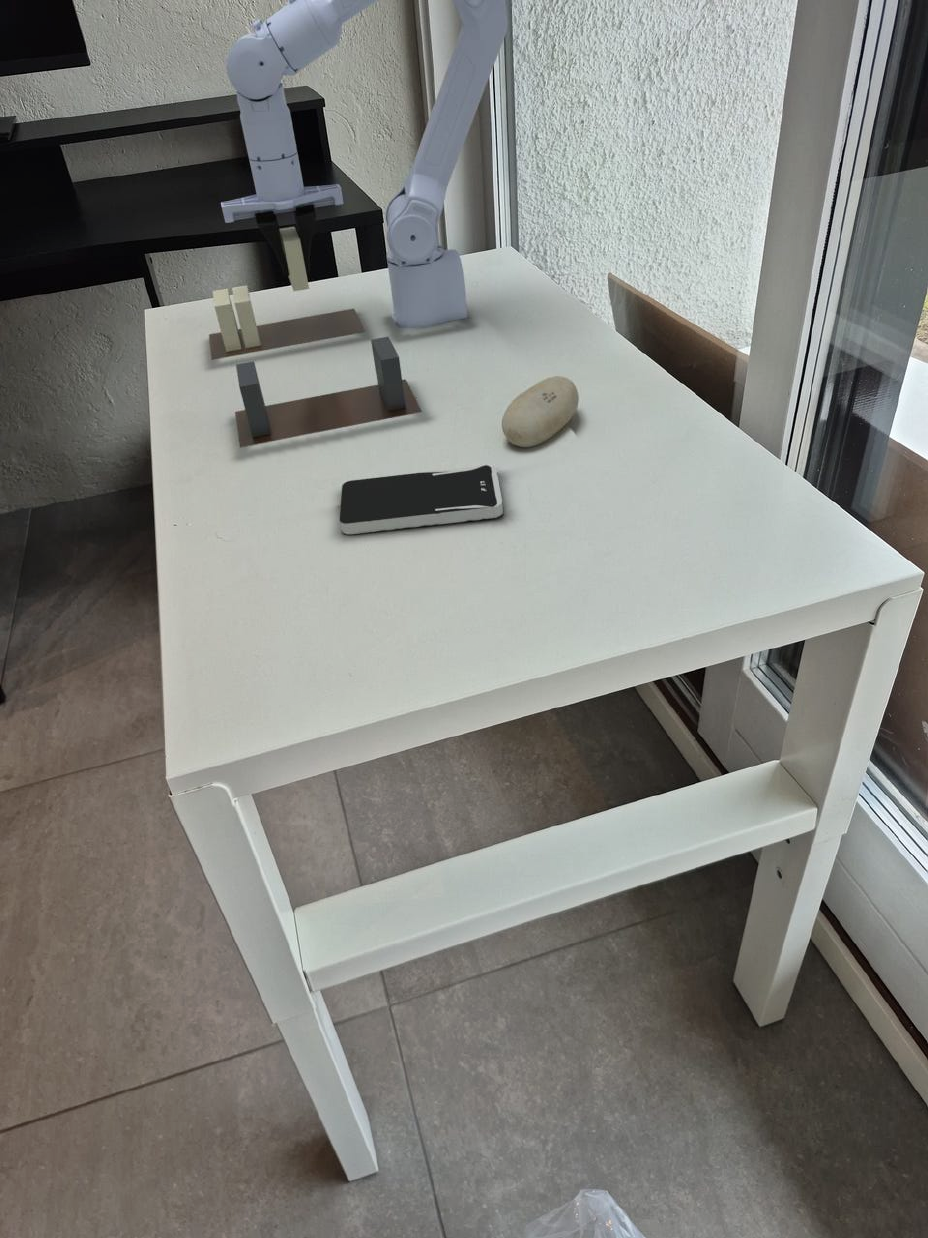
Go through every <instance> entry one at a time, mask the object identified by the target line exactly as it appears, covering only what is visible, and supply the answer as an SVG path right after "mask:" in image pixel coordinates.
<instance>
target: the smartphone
mask: <svg viewBox="0 0 928 1238" xmlns="http://www.w3.org/2000/svg"><path fill="white" fill-rule="evenodd" d="M340 495H341V497H340V509H339V523H340V528H341V532H342V534H344V535H348V536H349V535H351V536H352V535H358V534H367V533H368V534H369V533H377V532H385V531H394V530H403V529H412V528H419V527H427V526H428V527H429V526H437V525H446V524H455V523H464V522H471V521H472V522H473V521H480V520H482V521H483V520H489V519H490V520H491V519H497V518H499V517H501V516H502V515H503V513H504V508H503V499H502V493H501V486H500V482H499V476H498V470H497V467H496V466H495V465H492V464H481V465H473V466H466V467H456V468H447V469H440V470H430V471H421V472H414V473H413V472H411V473H404V474H397V475H387V476H380V477H379V476H377V477H371V478H370V477H369V478H360V479H354V480H353V479H352V480H348V481H346V482H344V483H343V484H342V485H341V494H340Z"/></svg>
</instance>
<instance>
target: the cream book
mask: <svg viewBox="0 0 928 1238" xmlns="http://www.w3.org/2000/svg"><path fill="white" fill-rule="evenodd" d="M279 230H280V235H281V241H282V246H283V251H284V254H285V258H286V261H287V265H288V269H289V275H290V276H288V279H289V282H290V285H291V288H292V291H293V292H298V291H299V292H300V291H304V290H310V285H309V281H308V275H307V273H306V269H305V264H304V259H303V253H302V248H301V243H300V239H299V237H298V233H297V228H296V226H289V227H283V228H279Z"/></svg>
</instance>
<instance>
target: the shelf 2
mask: <svg viewBox="0 0 928 1238" xmlns="http://www.w3.org/2000/svg"><path fill="white" fill-rule="evenodd" d="M402 382H403V389H404V396H405V404H406V408H404V409H399V410H394V411H388V409H387V407H386V404H385V402H384V400H383V398H382V395H381V393H380V391H379V388H378V384H374V385H368V386H363V387H357V388H352V389H347V390H342V391H337V392H332V393H326V394H321V395H316V396H310V397H306V398H300V399H295V400H289V401H285V402H279V403H274V404H269V405H265V408H266V412H267V417H268V422H269V427H270V432H271V435H266V436H261V437H256V438H252V434H251V430H250V426H249V422H248V419H247V415H246V411H245V409H242V410H238V411H234V415H235V423H236V431H237V438H238V444H239V449H240V448H241V449H242V448H247V447H251V446H256V445H261V444H267V443H272V442H277V441H282V440H286V439H292V438H297V437H303V436H307V435H312V434H318V433H323V432H328V431H332V430H337V429H342V428H348V427H352V426H358V425H364V424H367V423H373V422H377V421H383V420H389V419H394V418H399V417H403V416H409V415H413V414H418V413H423V411H422V408H421V407H420V404H419V402H418V401H417V399H416V397H415V395H414V393H413V391H412V389H411V387H410V385H409V383H408V381H407V379H405V378H404V379H402Z"/></svg>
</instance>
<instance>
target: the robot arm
mask: <svg viewBox="0 0 928 1238" xmlns="http://www.w3.org/2000/svg"><path fill="white" fill-rule="evenodd" d="M288 1H289V3H288V4H286V5H285V6H284V7H282V8H281V9H279V10H278V11H277V12H275V13H274V14H273V15H272V16H270V17H268V18H267V19H266V20H264V21H262V18H259V19H257V20H256V21H255V22H253V23H252V28H253V29H254V32H255V33H253V32H251V33H250V32H249V33H247V34H245V35H242V36H241V37H240V38H239V39H237V41H236V42H235V43H234V45H233V46H232V47H231V48H230V49H229V51H228V55H227V58H226V74H227V77H228V80H229V82H230V83H231V85H232V87H233V88H234V90H235V91H236V102H237V105H238V107H239V111H240V114H239V119H240V124H241V128H242V134H243V138H244V142H245V147H246V152H247V155H248V161H249V165H250V169H251V174H252V179H253V184H254V189H255V193H256V194H253V195H248V196H244V197H241V198H236V199H232V200H229V201H222V202H220V206H221V210H222V211H221V212H222V214H223V218H224V222H225V224H228V223H234V222H235V221H239V220H245V219H250V218H251V219H252V218H254V219H255V223H256V225H257V227H258V229H259V230H260V232H261V233H262V235H263V236H264V237H265V239H266V240H267V242H268V243H269V245H270V246H271V248H272V250H273V252H274V253H275V255H276V258H277V259H278V262H279V264H280V267H281V269H282V273H283V276H284V277H289V276H290V275H289V269H288V265H287V261H286V258H285V254H284V251H283V246H282V241H281V235H280V230H279V229H280V225H279V222H278V219H277V216H276V214H281V213H282V214H283V213H289V212H292V214H293V218H294V222H295V229H296V232H297V234H298V237H299V239H300V243H301V248H302V253H303V259H304V264H305V269H306V274H307V273H311V247H312V240H313V234H314V231H315V227H316V224H317V218H318V217H317V212H316V209H315V208H319V207H325V206H332V205H334V206H341V205H344V197H343V191H342V187H341V185H340V184H339V183H335V184H328V185H327V184H326V185H316V186H315V185H313V186H304V182H303V176H302V170H301V165H300V160H299V154H298V149H297V144H296V139H295V133H294V127H293V120H292V117H291V111H290V108H289V106H288V105H287V99H286V93H285V89H284V83H282V79H283V77H284V76H295V75H297V74H298V73H300V72H301V71H302V70H303V69H305V68H307V67H308V66H309V65H311V64H312V63H314V62H315V61H316V60H318V59H319V58H321V57H322V56H323V55H325V54H326V53H328V52H329V51H330V50H332V49H333V48H336V46H338V45H339V44H340V42H341V36H342V30H343V25H344V23H346V22H348V21H349V20H350V19H352V18H354V17H355V16H357V15H358V14H360V13H361V12H363V11H364V10H366V9H367V8H368V7H370V6H372V5H374V4H375V3H376V2H378V1H379V0H288ZM452 1H453V4H454V6H455V10H456V12H457V15H458V18H459V20H460V23H461V29H460V32H459V34H458V37H457V39H456V43H455V45H454V48H453V51H452V54H451V57H450V59H449V62H448V65H447V68H446V71H445V74H444V76H443V79H442V82H441V84H440V87H439V90H438V93H437V96H436V98H435V102H434V103H433V107H432V109H431V113H430V115H429V118H428V122H427V124H426V127H425V129H424V132H423V135H422V138H421V140H420V142H419V146H418V149H417V152H416V155H415V157H414V160H413V163H412V165H411V167H410V170H409V171H408V173H407V175H406V176H405V179H404V182H403V185H402V186H401V188H400V190H399V191H398V192H397V194H395V195H394V196H393V197H392V198H391V200H389V202H388V204H387V206H386V211H385V222H386V226H387V229H386V242H387V246H388V247H389V250H388V251H387V253H386V256H385V257H386V263H387V270H388V277H389V284H390V291H391V298H392V307H393V313H391V314H390V316H391V318H392V320H393V322H394V324H395V325H396V327H397V329H399V330H400V329H404V328H405V329H406V328H410V329H421V328H429V327H433V326H436V325H437V326H438V325H439V324H442V323H447V322H452V321H457V320H463V319H467V318H468V307H467V296H466V282H465V274H464V267H463V264H462V259H461V257H460V254H459V252H458V250H457V249H453V248H452V249H443V246H442V244H440V243H439V237H440V235H439V221H440V217H441V216H442V215H441V214H442V212H443V208H444V204H445V200H446V194H447V190H448V186H449V183H450V181H451V178H452V176H453V173H454V170H455V168H456V165H457V163H458V159H459V157H460V155H461V152H462V149H463V146H464V145H465V141H466V139H467V136H468V133H469V131H470V128H471V126H472V124H473V121H474V118H475V115H476V113H477V111H478V107H479V105H480V102H481V100H482V97H483V94H484V91H485V89H486V87H487V84H488V81H489V79H490V76H491V73H492V72H493V68H494V66H495V63H496V61H497V59H498V58H497V57H498V55H499V52H500V50H501V48H502V45H503V43H504V40H505V37H506V34H507V32H508V31H507V30H508V26H509V23H508V22H509V21H508V13H507V4H506V0H452Z"/></svg>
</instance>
